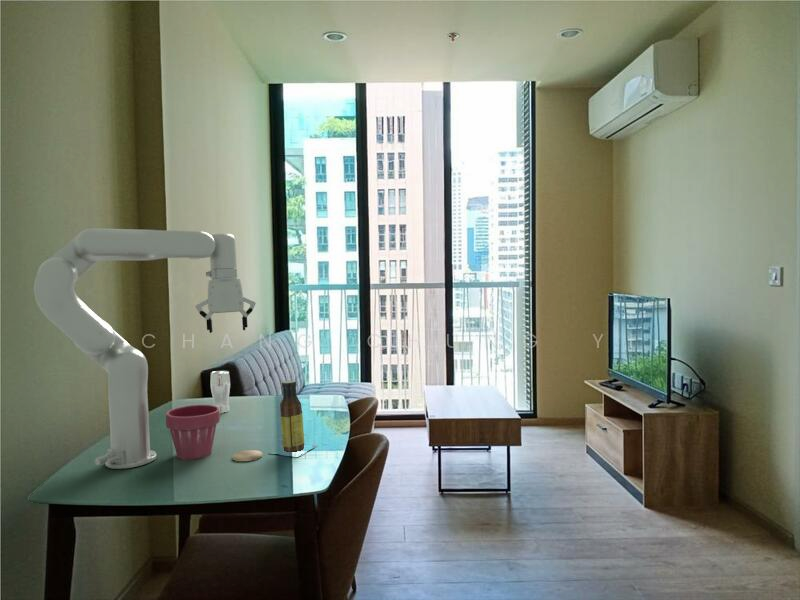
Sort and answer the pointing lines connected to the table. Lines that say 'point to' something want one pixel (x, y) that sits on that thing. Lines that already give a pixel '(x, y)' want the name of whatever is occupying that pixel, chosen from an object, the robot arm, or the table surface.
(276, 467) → the table surface
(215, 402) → the beer glass
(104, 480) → the table surface
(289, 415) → the sauce bottle
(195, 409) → the plant pot
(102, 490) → the table surface
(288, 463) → the table surface
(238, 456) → the coaster
